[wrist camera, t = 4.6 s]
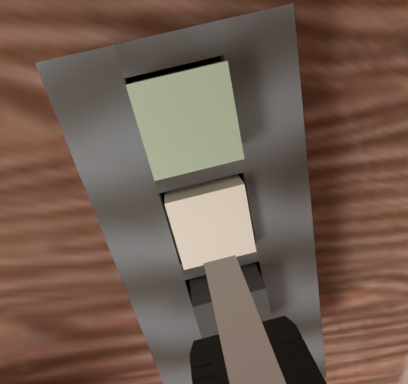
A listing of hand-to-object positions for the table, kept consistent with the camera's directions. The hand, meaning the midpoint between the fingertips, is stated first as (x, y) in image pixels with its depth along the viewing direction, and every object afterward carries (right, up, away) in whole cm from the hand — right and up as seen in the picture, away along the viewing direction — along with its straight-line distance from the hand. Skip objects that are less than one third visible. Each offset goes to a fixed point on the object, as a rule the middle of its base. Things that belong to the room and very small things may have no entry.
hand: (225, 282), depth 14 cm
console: (-1, +2, +14) cm, 14 cm away
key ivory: (-1, +3, +9) cm, 10 cm away
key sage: (-2, +9, +5) cm, 11 cm away
